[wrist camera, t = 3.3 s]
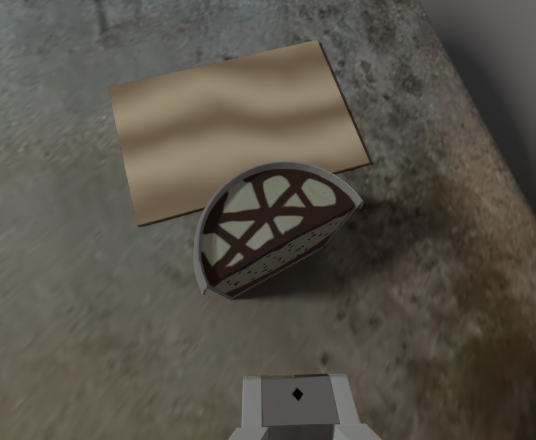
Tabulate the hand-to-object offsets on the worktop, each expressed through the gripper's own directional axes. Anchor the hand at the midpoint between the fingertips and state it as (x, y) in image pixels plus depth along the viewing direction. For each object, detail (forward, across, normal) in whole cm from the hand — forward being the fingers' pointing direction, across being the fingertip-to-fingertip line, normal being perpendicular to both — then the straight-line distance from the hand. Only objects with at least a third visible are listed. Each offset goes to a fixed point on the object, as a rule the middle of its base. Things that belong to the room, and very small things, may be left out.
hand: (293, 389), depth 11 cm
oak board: (+30, +3, -1) cm, 30 cm away
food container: (+22, 0, +8) cm, 23 cm away
